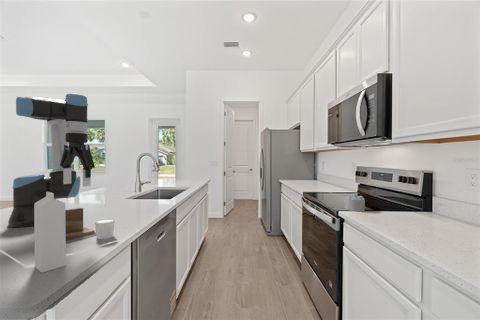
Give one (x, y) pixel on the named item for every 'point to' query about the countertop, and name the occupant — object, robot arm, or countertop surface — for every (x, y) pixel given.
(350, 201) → the lumpy-topped squat cylinder
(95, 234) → the mat
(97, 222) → the white grey-rimmed cup
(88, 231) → the board
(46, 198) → the milk
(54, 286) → the countertop surface
